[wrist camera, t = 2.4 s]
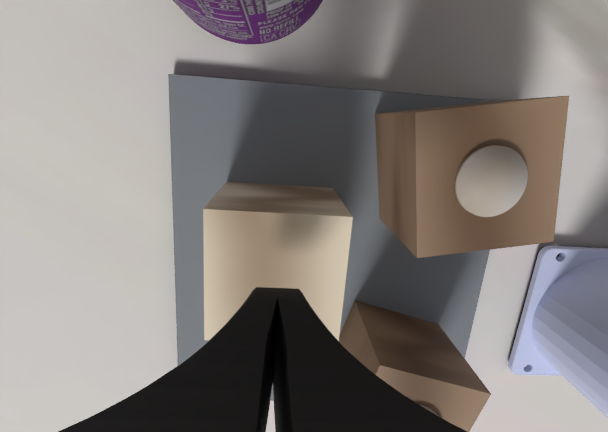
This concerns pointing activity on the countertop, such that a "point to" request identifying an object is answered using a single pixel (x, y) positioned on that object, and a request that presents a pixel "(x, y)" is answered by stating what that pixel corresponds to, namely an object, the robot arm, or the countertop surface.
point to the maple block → (274, 248)
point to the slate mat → (314, 173)
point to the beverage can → (249, 17)
